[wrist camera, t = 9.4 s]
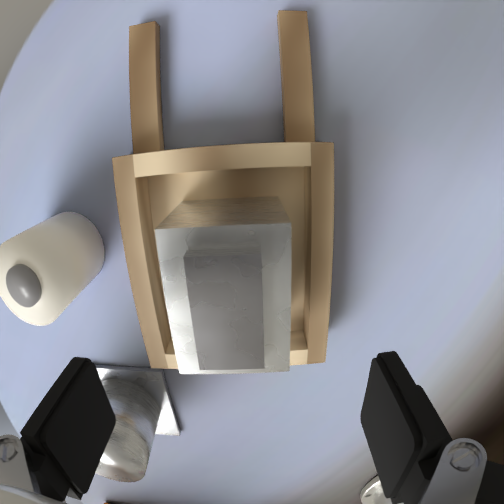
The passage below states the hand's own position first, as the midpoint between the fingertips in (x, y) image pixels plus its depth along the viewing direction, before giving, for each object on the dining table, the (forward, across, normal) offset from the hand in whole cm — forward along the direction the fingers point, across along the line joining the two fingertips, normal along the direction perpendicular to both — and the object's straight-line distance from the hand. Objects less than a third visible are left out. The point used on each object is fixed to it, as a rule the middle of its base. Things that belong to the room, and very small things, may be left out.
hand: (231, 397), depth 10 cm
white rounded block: (+11, +12, -2) cm, 16 cm away
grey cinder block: (+11, 0, -1) cm, 11 cm away
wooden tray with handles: (+11, +1, -5) cm, 12 cm away
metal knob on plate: (+12, +11, +12) cm, 20 cm away
